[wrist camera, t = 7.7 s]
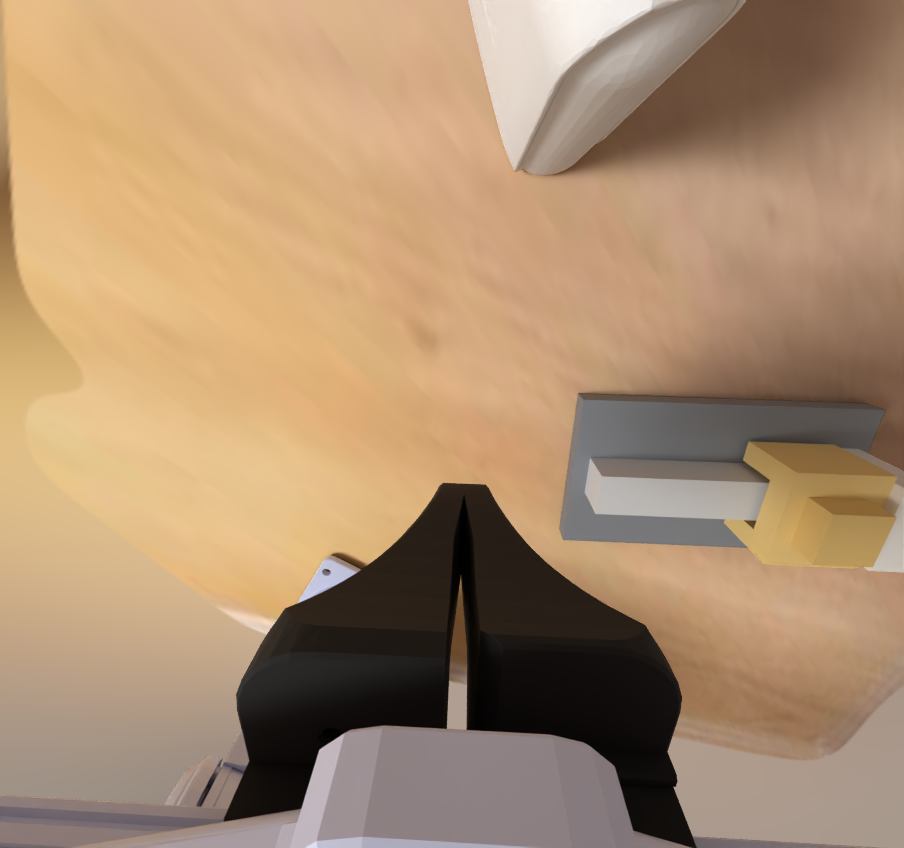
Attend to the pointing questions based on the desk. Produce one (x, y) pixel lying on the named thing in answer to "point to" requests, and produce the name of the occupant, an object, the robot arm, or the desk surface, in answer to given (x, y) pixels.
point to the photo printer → (581, 66)
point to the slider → (817, 507)
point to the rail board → (691, 442)
